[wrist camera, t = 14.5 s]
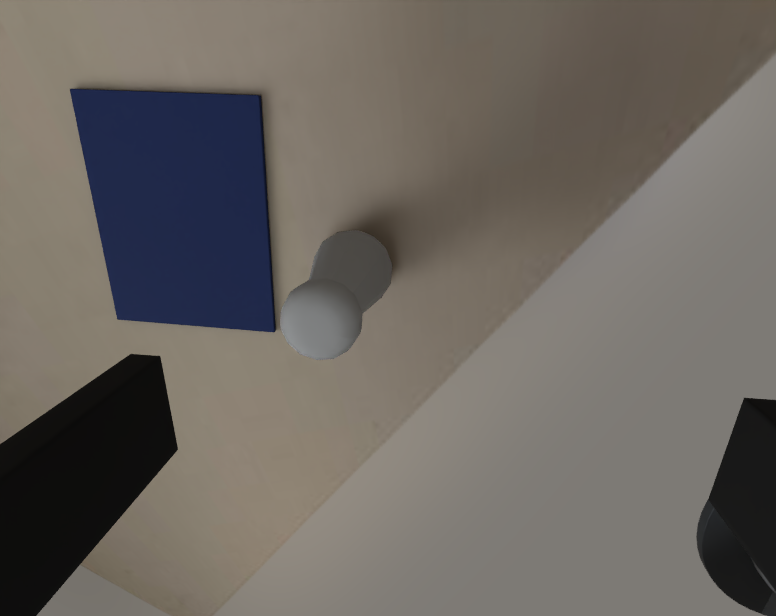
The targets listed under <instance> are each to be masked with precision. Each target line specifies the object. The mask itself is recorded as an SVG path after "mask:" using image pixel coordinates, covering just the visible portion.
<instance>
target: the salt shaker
mask: <svg viewBox="0 0 776 616" xmlns="http://www.w3.org/2000/svg"><path fill="white" fill-rule="evenodd" d="M391 274H392V263H391V260H390V258H389V255H388V252H387V249H386V248H385V247H384V246H383V245H382V244H381V243H380V242H379V241H378V240H377V239H376V238H375V237H374V236H372V235H369V234H367V233H364V232H361V231H358V230H351V231H343V232H337V233H336V234H334V235H333V236H331V237H329V238H328V239H326V240H325V241H323V242H322V244H321V246H320V248H319V249H318V251H317V253H316V255H315V257H314V261H313V265H312V270H311V274H310V278H309V280H308V281H307V282H305V283H303V284H302V285H300V286H298V287H297V288H295V289H294V290H293V291H291V292H290V294H289V296H288V298H287V300H286V301H285V303H284V305H283V307H282V310H281V321H280V328H281V330H282V332H283V334H284V336H285V338H286V340H287V342H288V344H290V345H291V346H292V347H293V348H294V349H295V350H296V351H297V352H298V353H300V354H301V355H304V356H307V357H310V358H313V359H316V360H323V359H334V358H336V357H338V356H339V355H341V354H343V353H345V352H347V351H348V350H349V349H350V348H351V346H352V345H353V343H354V342H355V340H356V339H357V337H358V336H359V334H360V332H361V327H362V313H364V312H365V311H366V310H367V309H368V308H370V307H371V306H372V305H373V304H374V303H375V302H377V301H378V300H379V299H380V298H381V297H382V296H383V294H384V293H385V291H386V290H387V288H388V287H389V285H390V284H391Z"/></svg>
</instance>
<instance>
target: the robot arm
mask: <svg viewBox="0 0 776 616" xmlns="http://www.w3.org/2000/svg"><path fill="white" fill-rule="evenodd" d="M177 450H178V447H177V442H176V437H175V432H174V426H173V421H172V416H171V411H170V405H169V400H168V395H167V389H166V384H165V379H164V374H163V368H162V363H161V358H160V356H151V355H137V354H130V355H129V356H127V357H126V358H124V359H123V360H121V361H120V362H118V363H117V364H116V365H114V366H113V367H111V368H110V369H108V370H107V371H105V372H104V373H103V374H101V375H100V376H98V377H97V378H95V379H94V380H92V381H91V382H90V383H88V384H87V385H85V386H84V387H82V388H81V389H79V390H78V391H77V392H75V393H74V394H72V395H71V396H69V397H68V398H66V399H65V400H64V401H62V402H61V403H59V404H58V405H56V406H55V407H53V408H52V409H51V410H49V411H48V412H46V413H45V414H43V415H42V416H40V417H39V418H38V419H36V420H35V421H33V422H32V423H30V424H29V425H27V426H26V427H25V428H23V429H22V430H20V431H19V432H17V433H16V434H14V435H13V436H12V437H10V438H9V439H7V440H6V441H4V442H3V443H1V444H0V616H36V615H37V614H38V613H39V612H40V611H41V610H42V608H43V607H44V606H45V605H46V604H47V602H48V601H49V600H50V599H51V598H52V597H53V595H54V594H55V593H56V592H57V591H58V590H59V588H60V587H61V586H62V585H63V584H64V582H65V581H66V580H67V579H68V578H69V577H70V576H71V574H72V573H73V572H74V571H75V570H76V568H77V567H78V566H79V565H80V564H81V563H82V561H83V560H84V559H85V558H86V557H87V556H88V554H89V553H90V552H91V551H92V550H93V549H94V547H95V546H96V545H97V544H98V543H99V541H100V540H101V539H102V538H103V537H104V536H105V534H106V533H107V532H108V531H109V530H110V529H111V527H112V526H113V525H114V524H115V523H116V522H117V520H118V519H119V518H120V517H121V516H122V514H123V513H124V512H125V511H126V510H127V509H128V507H129V506H130V505H131V504H132V503H133V502H134V500H135V499H136V498H137V497H138V496H139V495H140V493H141V492H142V491H143V490H144V489H145V487H146V486H147V485H148V484H149V483H150V482H151V480H152V479H153V478H154V477H155V476H156V475H157V473H158V472H159V471H160V470H161V469H162V468H163V466H164V465H165V464H166V463H167V462H168V460H169V459H170V458H171V457H172V456H173V455H174V453H175V452H176V451H177ZM708 500H709V501H710V502H711V504H712V505H713V506H714V508H715V509H716V511H717V512H718V513H719V515H720V516H721V517H722V519H723V520H724V521H725V523H726V524H727V526H728V527H729V528H730V530H731V531H732V532H733V534H734V535H735V537H736V538H737V539H738V541H739V542H740V543H741V545H742V546H743V548H744V549H745V550H746V552H747V553H748V554H749V556H750V558H751V561H752V563H753V565H754V567H755V568H756V570H757V571H758V572H759V574H760V575H761V576H762V578H763V579H764V581H765V582H766V583H767V585H768V586H769V587H770V588H771V589H772V590H773V591H774V592H775V593H776V400H767V399H753V398H744V400H743V403H742V405H741V408H740V411H739V414H738V417H737V420H736V422H735V425H734V428H733V431H732V434H731V437H730V440H729V443H728V445H727V448H726V451H725V454H724V456H723V459H722V462H721V465H720V468H719V471H718V473H717V476H716V479H715V482H714V485H713V488H712V491H711V493H710V496H709V499H708Z"/></svg>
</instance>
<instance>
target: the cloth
mask: <svg viewBox="0 0 776 616" xmlns="http://www.w3.org/2000/svg"><path fill="white" fill-rule="evenodd" d="M70 92H71V97H72V102H73V107H74V112H75V116H76V121H77V126H78V131H79V136H80V141H81V145H82V150H83V155H84V160H85V165H86V170H87V174H88V179H89V184H90V189H91V194H92V199H93V203H94V208H95V213H96V218H97V223H98V228H99V232H100V237H101V242H102V247H103V252H104V257H105V261H106V266H107V271H108V276H109V281H110V286H111V291H112V295H113V300H114V305H115V310H116V315H117V319H118V320H131V321H143V322H155V323H167V324H180V325H192V326H204V327H216V328H228V329H241V330H253V331H265V332H275V330H276V329H275V313H274V297H273V281H272V265H271V249H270V233H269V217H268V201H267V185H266V169H265V154H264V138H263V122H262V106H261V96H260V95H236V94H206V93H177V92H148V91H119V90H90V89H70Z"/></svg>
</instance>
